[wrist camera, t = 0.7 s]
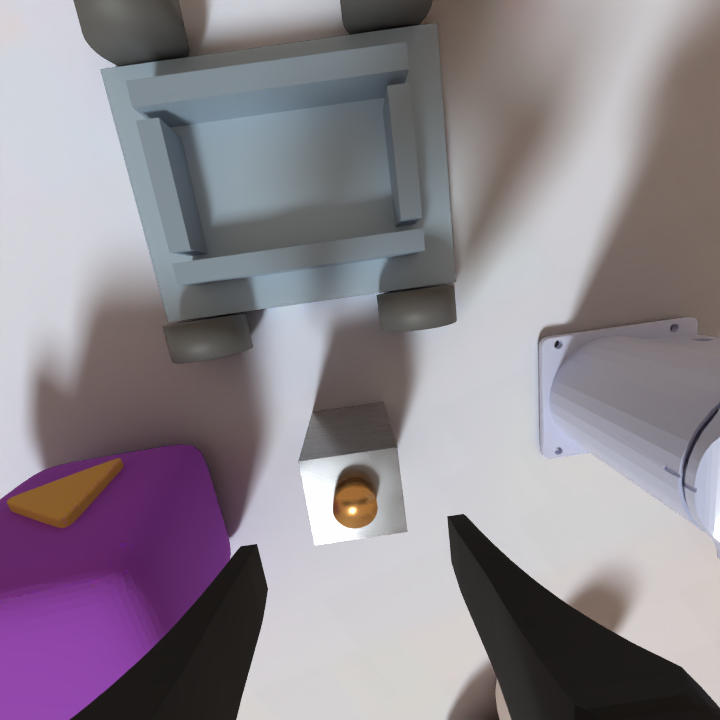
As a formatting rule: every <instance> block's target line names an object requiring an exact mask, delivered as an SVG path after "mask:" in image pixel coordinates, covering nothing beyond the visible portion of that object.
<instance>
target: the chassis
mask: <svg viewBox="0 0 720 720" xmlns="http://www.w3.org/2000/svg"><path fill="white" fill-rule="evenodd" d="M432 1H433V0H340V4H341V12H342V20H343V24H344V27H345V29H346V30H347V32H348V33H349V34H350V35H344V36H337V37H330V38H323V39H315V40H308V41H301V42H294V43H286V44H279V45H272V46H265V47H258V48H250V49H243V50H236V51H229V52H221V53H214V54H207V55H200V56H192V57H189V47H188V42H187V37H186V33H185V28H184V23H183V19H182V14H181V9H180V5H179V0H74V4H75V7H76V11H77V15H78V18H79V22H80V26H81V29H82V33H83V36H84V38H85V40H86V42H87V43H88V44H89V46H90V47H91V48H92V49H93V50H94V51H95V52H97V53H98V54H99V55H100V56H102V57H103V58H105V59H106V60H108V61H110V62H112V63H114V64H116V65H118V66H120V67H113V68H106V69H100V70H101V74H102V78H103V81H104V85H105V89H106V93H107V96H108V100H109V104H110V108H111V111H112V115H113V119H114V122H115V126H116V130H117V134H118V137H119V141H120V145H121V148H122V152H123V156H124V160H125V163H126V167H127V171H128V175H129V178H130V182H131V186H132V189H133V193H134V197H135V201H136V204H137V208H138V212H139V215H140V219H141V223H142V227H143V230H144V234H145V238H146V242H147V245H148V249H149V253H150V256H151V260H152V264H153V268H154V271H155V275H156V279H157V283H158V286H159V290H160V294H161V297H162V301H163V305H164V309H165V312H166V316H167V320H168V322H175V321H182V320H189V319H196V318H203V317H210V316H217V315H224V314H231V313H239V312H246V311H253V310H260V309H267V308H274V307H281V306H288V305H295V304H302V303H309V302H316V301H323V300H330V299H337V298H344V297H352V296H359V295H366V294H373V293H380V292H387V291H394V290H401V289H408V288H415V287H422V286H429V285H436V284H443V283H450V282H456V280H455V266H454V252H453V238H452V223H451V209H450V195H449V181H448V167H447V153H446V139H445V124H444V110H443V96H442V82H441V68H440V54H439V40H438V25H437V23H431V24H424V25H419V24H420V23H421V22H422V21H423V19H424V18H425V17H426V15H427V14H428V12H429V10H430V8H431V5H432ZM377 302H378V310H379V318H380V326H381V330H383V331H393V332H397V331H414V330H423V329H430V328H436V327H441V326H445V325H449V324H452V323H454V322H456V321H457V317H456V303H455V289H454V285H442V286H433V287H424V288H417V289H409V290H402V291H396V292H390V293H384V294H379V295H377ZM163 330H164V333H165V337H166V341H167V344H168V348H169V352H170V355H171V359H172V362H173V363H190V362H198V361H205V360H210V359H215V358H220V357H225V356H229V355H233V354H236V353H240V352H243V351H246V350H248V349H250V348H252V347H253V345H252V340H251V336H250V331H249V326H248V322H247V317H246V314H245V313H244V314H234V315H226V316H219V317H212V318H205V319H199V320H193V321H187V322H181V323H176V324H171V325H166V326H163Z"/></svg>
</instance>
